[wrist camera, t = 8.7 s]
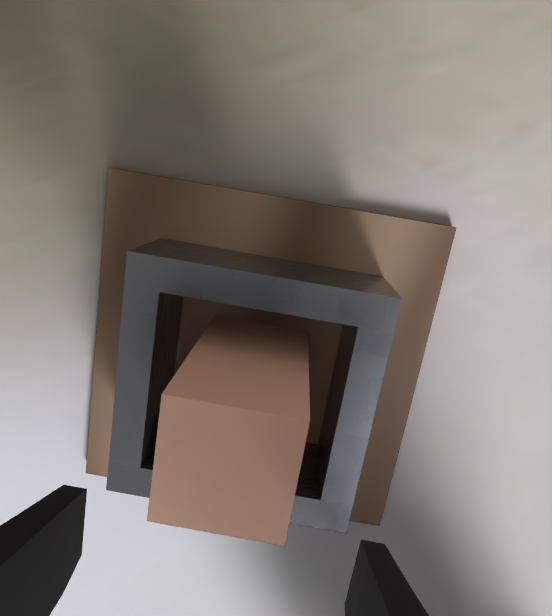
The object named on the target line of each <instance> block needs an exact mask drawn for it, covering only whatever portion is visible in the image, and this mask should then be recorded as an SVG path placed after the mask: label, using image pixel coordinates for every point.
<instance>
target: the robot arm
mask: <svg viewBox="0 0 552 616" xmlns="http://www.w3.org/2000/svg"><path fill="white" fill-rule="evenodd" d="M86 493H87V489H84V488H78V487H73V486H68V485H63V486H61V487H60V488H58V489H57V490H55V491H53V492H52V493H50V494H49V495H47V496H46V497H44V498H43V499H41V500H40V501H38V502H36V503H35V504H33V505H32V506H30V507H29V508H27V509H26V510H24V511H23V512H21V513H20V514H18V515H17V516H15V517H13V518H12V519H10V520H9V521H7V522H5V523H4V524H2V525H1V526H0V616H49V615H50V614H51V612H52V610H53V609H54V607H55V606H56V604H57V602H58V601H59V599H60V597H61V596H62V594H63V592H64V590H65V588H66V586H67V584H68V582H69V580H70V578H71V576H72V574H73V572H74V570H75V567H76V565H77V563H78V561H79V559H80V557H81V555H82V542H83V530H84V518H85V505H86ZM345 616H429V615H428V613H427V612H426V610H425V609H424V607H423V606H422V604H421V603H420V601H419V600H418V598H417V597H416V595H415V593H414V592H413V590H412V589H411V587H410V585H409V584H408V582H407V580H406V579H405V577H404V575H403V574H402V572H401V570H400V569H399V567H398V565H397V564H396V562H395V560H394V559H393V557H392V555H391V554H390V552H389V550H388V549H387V547H386V546H385V544H381V543H375V542H370V541H365V540H361V542H360V546H359V550H358V554H357V558H356V562H355V566H354V570H353V574H352V578H351V582H350V586H349V590H348V594H347V598H346V602H345Z"/></svg>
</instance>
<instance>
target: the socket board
mask: <svg viewBox="0 0 552 616" xmlns="http://www.w3.org/2000/svg"><path fill="white" fill-rule="evenodd" d="M455 231H456V227H452V226H446V225H440V224H435V223H429V222H423V221H417V220H411V219H405V218H400V217H394V216H388V215H382V214H376V213H370V212H365V211H359V210H353V209H347V208H341V207H335V206H330V205H324V204H318V203H312V202H306V201H300V200H295V199H289V198H283V197H277V196H271V195H265V194H260V193H254V192H248V191H242V190H236V189H230V188H225V187H219V186H213V185H207V184H201V183H195V182H190V181H184V180H178V179H172V178H166V177H160V176H155V175H149V174H143V173H137V172H131V171H125V170H120V169H114V168H108V181H107V194H106V208H105V221H104V235H103V248H102V262H101V275H100V288H99V302H98V315H97V329H96V342H95V356H94V369H93V383H92V396H91V410H90V423H89V437H88V450H87V464H86V473H88V474H93V475H99V476H105V477H107V487H106V490H109V491H115V492H120V493H126V494H131V495H137V496H142V497H148V498H150V490H151V482H152V473H153V464H154V456H155V447H156V438H157V430H158V421H159V413H160V404H161V395H162V393H163V391H164V390H165V388H166V387H167V385H168V384H169V382H170V381H171V379H172V378H173V377H174V375H175V374H176V372H177V371H178V369H179V368H180V366H181V365H182V363H183V362H184V360H185V359H186V357H187V356H188V354H189V353H190V351H191V350H192V348H193V347H194V346H195V344H196V343H197V341H198V340H199V338H200V337H201V335H202V334H203V332H204V331H205V329H206V328H207V326H208V325H209V323H210V322H211V320H212V319H213V317H214V316H215V315H216V316H222V317H227V318H233V319H239V320H244V321H250V322H256V323H261V324H267V325H273V326H278V327H284V328H290V329H295V330H301V331H307V332H308V357H309V396H310V424H309V429H308V434H307V438H306V443H305V448H304V453H303V458H302V463H301V468H300V473H299V478H298V483H297V488H296V492H295V497H294V502H293V507H292V512H291V517H290V522H289V523H292V524H298V525H303V526H309V527H315V528H320V529H326V530H331V531H337V532H342V533H346V532H347V528H348V523H349V521H355V522H361V523H366V524H372V525H377V526H380V522H381V518H382V514H383V510H384V506H385V502H386V499H387V495H388V491H389V487H390V483H391V479H392V475H393V471H394V468H395V464H396V460H397V456H398V452H399V448H400V444H401V440H402V437H403V433H404V429H405V425H406V421H407V417H408V413H409V409H410V405H411V402H412V398H413V394H414V390H415V386H416V382H417V378H418V374H419V371H420V367H421V363H422V359H423V355H424V351H425V347H426V343H427V340H428V336H429V332H430V328H431V324H432V320H433V316H434V312H435V308H436V305H437V301H438V297H439V293H440V289H441V285H442V281H443V277H444V274H445V270H446V266H447V262H448V258H449V254H450V250H451V246H452V243H453V239H454V235H455Z"/></svg>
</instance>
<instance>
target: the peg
mask: <svg viewBox="0 0 552 616" xmlns="http://www.w3.org/2000/svg"><path fill="white" fill-rule="evenodd" d="M309 424H310V396H309V357H308V332H307V331H301V330H295V329H290V328H284V327H278V326H273V325H267V324H261V323H256V322H250V321H244V320H239V319H233V318H227V317H222V316H216V315H215V316H214V317H213V319H212V320H211V322H210V323H209V325H208V326H207V328H206V329H205V331H204V332H203V334H202V335H201V337H200V338H199V340H198V341H197V343H196V344H195V346H194V347H193V348H192V350H191V351H190V353H189V354H188V356H187V357H186V359H185V360H184V362H183V363H182V365H181V366H180V368H179V369H178V371H177V372H176V374H175V375H174V377H173V378H172V379H171V381H170V382H169V384H168V385H167V387H166V388H165V390H164V391H163V393H162V395H161V404H160V413H159V421H158V430H157V438H156V447H155V456H154V464H153V473H152V482H151V490H150V499H149V508H148V516H147V521H149V522H155V523H160V524H166V525H171V526H177V527H182V528H188V529H193V530H199V531H204V532H210V533H215V534H221V535H226V536H232V537H237V538H243V539H248V540H254V541H259V542H265V543H270V544H276V545H281V546H285V542H286V537H287V532H288V527H289V522H290V517H291V512H292V507H293V502H294V497H295V492H296V488H297V483H298V478H299V473H300V468H301V463H302V458H303V453H304V448H305V443H306V438H307V434H308V429H309Z"/></svg>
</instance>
